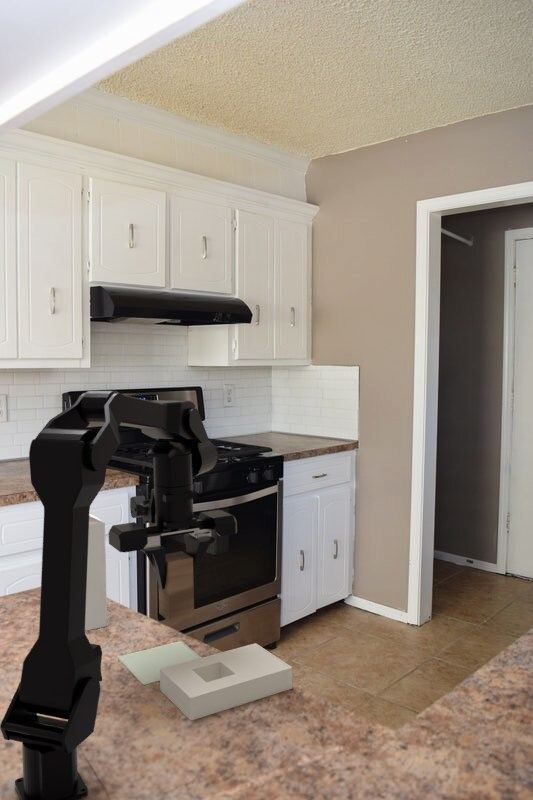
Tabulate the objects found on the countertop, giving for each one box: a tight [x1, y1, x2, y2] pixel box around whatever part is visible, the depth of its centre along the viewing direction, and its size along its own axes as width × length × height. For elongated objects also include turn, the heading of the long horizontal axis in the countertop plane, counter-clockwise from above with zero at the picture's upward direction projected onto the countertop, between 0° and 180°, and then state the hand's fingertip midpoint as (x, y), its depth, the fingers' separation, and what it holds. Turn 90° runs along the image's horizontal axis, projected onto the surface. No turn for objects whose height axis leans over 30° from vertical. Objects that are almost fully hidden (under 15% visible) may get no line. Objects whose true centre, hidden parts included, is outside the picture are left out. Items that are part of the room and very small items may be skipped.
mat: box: [117, 641, 202, 686], centre depth 106 cm, size 11×11×1 cm
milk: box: [85, 512, 108, 632], centre depth 122 cm, size 6×6×22 cm
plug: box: [158, 551, 195, 623], centre depth 103 cm, size 4×4×9 cm
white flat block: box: [159, 642, 293, 721], centre depth 97 cm, size 10×16×4 cm, turn 122°
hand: (175, 585), depth 103 cm, fingers closed on plug, 4 cm apart
